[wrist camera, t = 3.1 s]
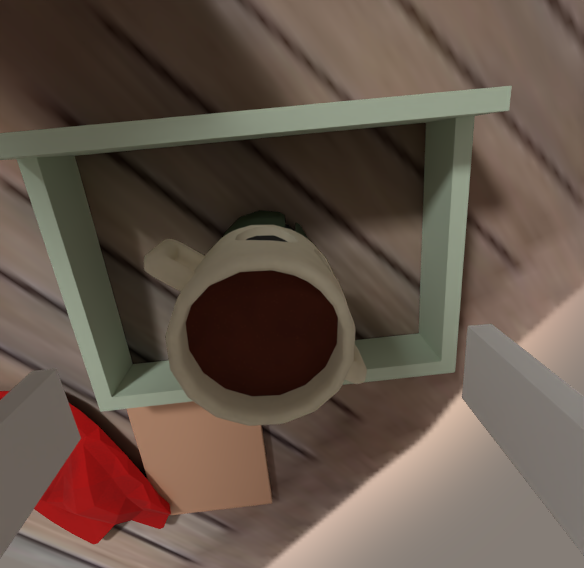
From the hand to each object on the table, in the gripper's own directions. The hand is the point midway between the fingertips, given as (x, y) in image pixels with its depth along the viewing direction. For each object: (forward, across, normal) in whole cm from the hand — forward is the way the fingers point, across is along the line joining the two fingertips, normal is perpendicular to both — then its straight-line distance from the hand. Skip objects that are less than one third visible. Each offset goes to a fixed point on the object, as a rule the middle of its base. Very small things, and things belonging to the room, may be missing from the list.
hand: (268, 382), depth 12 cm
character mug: (+15, 0, 0) cm, 15 cm away
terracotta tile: (+15, -7, -16) cm, 23 cm away
